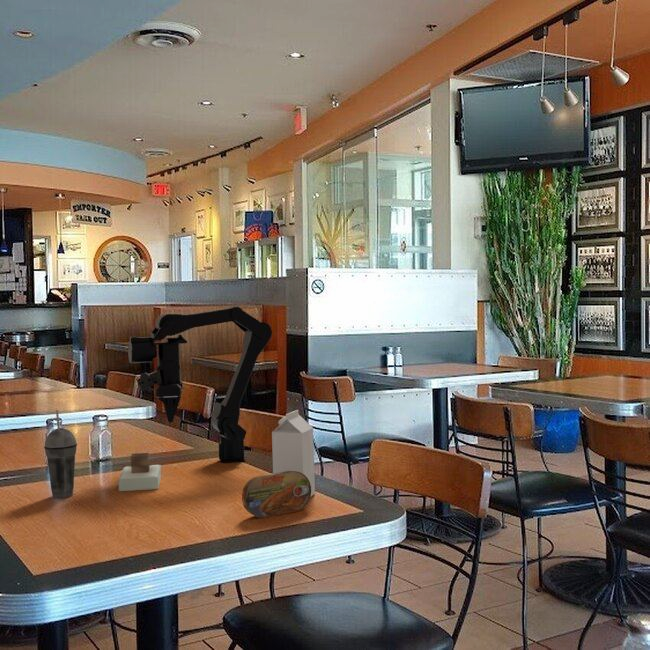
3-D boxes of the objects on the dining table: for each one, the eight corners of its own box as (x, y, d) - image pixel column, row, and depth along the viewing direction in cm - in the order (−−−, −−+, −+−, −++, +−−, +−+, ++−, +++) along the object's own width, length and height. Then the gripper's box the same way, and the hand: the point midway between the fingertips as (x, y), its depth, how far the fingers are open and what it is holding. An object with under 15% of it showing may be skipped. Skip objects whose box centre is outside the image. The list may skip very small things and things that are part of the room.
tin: (247, 521, 161) (245, 479, 161) (240, 517, 164) (239, 476, 163) (312, 509, 168) (311, 469, 168) (305, 506, 171) (304, 466, 171)
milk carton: (315, 494, 181) (312, 409, 180) (304, 502, 174) (301, 414, 173) (285, 492, 183) (283, 409, 182) (273, 500, 176) (271, 413, 176)
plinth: (161, 475, 204) (160, 464, 204) (158, 488, 190) (157, 476, 190) (124, 478, 202) (124, 466, 202) (118, 491, 189) (118, 478, 188)
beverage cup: (84, 491, 189) (80, 406, 188) (71, 499, 182) (67, 411, 181) (54, 492, 190) (50, 407, 189) (40, 499, 182) (36, 411, 182)
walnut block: (149, 468, 198) (148, 452, 198) (148, 472, 194) (147, 455, 194) (132, 469, 198) (132, 453, 198) (131, 473, 194) (130, 456, 194)
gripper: (140, 359, 222) (142, 416, 223) (135, 365, 204) (137, 426, 204) (181, 358, 224) (183, 414, 224) (179, 363, 205) (182, 424, 206)
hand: (171, 419), depth 214 cm, fingers open, 9 cm apart
